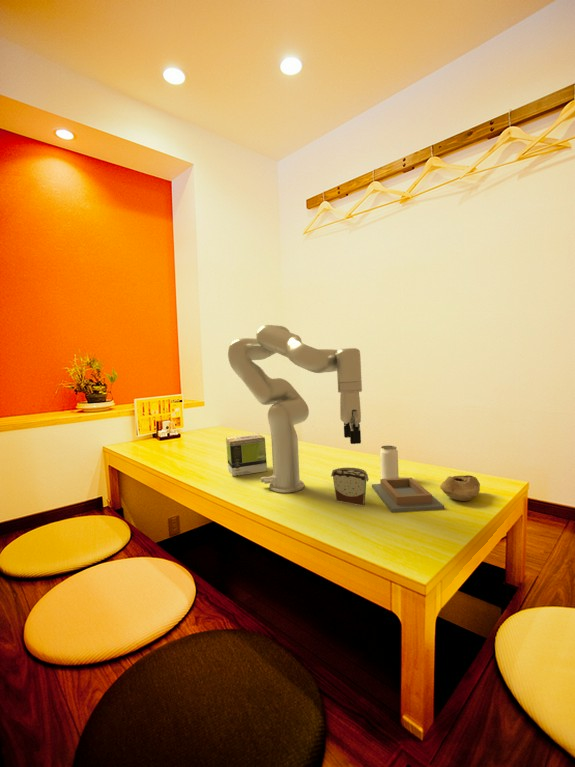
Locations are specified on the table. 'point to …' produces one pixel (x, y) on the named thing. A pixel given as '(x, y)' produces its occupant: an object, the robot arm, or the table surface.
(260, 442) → the tea box
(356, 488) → the food container
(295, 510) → the table surface
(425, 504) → the tray
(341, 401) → the robot arm
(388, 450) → the can
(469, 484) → the oil lamp
